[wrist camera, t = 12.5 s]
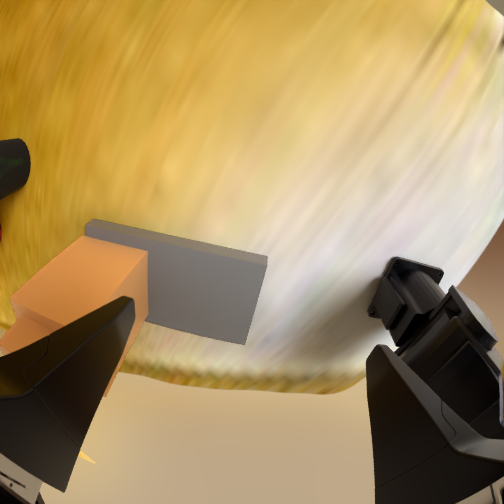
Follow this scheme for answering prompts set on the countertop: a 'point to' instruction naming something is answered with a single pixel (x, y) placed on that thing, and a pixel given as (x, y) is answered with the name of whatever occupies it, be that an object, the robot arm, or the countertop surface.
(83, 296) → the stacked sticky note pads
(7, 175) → the cup
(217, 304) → the board
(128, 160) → the countertop surface
